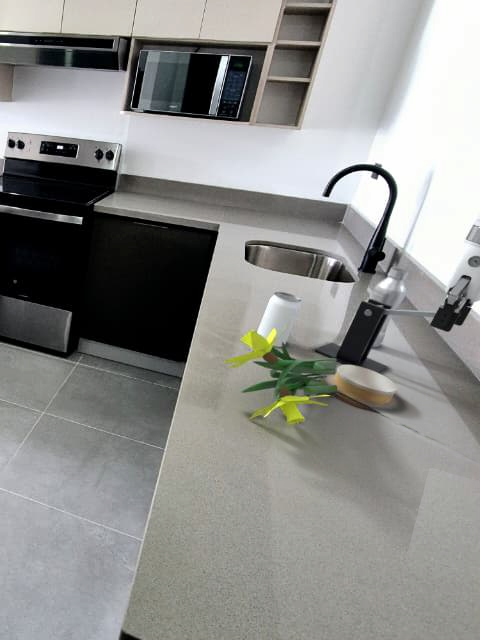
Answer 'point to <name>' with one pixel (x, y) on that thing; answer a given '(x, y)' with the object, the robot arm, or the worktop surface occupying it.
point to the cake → (363, 386)
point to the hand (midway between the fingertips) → (445, 325)
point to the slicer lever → (409, 312)
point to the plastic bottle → (390, 295)
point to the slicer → (360, 337)
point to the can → (280, 316)
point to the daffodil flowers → (286, 375)
